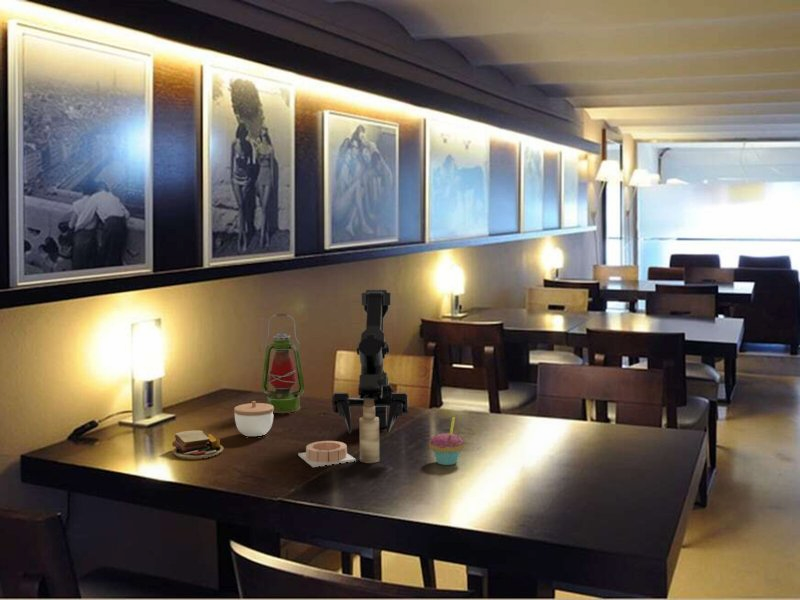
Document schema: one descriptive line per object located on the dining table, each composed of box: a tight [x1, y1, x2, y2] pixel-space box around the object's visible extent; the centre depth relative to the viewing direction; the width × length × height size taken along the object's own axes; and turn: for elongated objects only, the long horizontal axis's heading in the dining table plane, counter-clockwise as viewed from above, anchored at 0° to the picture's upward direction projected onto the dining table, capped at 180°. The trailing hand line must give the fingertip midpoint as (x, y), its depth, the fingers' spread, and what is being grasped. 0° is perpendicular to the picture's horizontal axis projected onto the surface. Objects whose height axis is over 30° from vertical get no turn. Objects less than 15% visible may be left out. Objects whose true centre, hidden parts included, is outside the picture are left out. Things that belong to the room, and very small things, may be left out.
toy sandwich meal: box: [171, 430, 224, 460], centre depth 213 cm, size 12×14×5 cm
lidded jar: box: [233, 400, 274, 436], centre depth 230 cm, size 11×11×9 cm
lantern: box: [261, 313, 305, 412], centre depth 258 cm, size 14×11×30 cm
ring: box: [297, 440, 357, 468], centre depth 207 cm, size 11×11×3 cm
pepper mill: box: [358, 398, 380, 464], centre depth 205 cm, size 5×5×16 cm
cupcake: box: [428, 414, 466, 466], centre depth 203 cm, size 9×8×12 cm
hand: (368, 432), depth 204 cm, fingers open, 9 cm apart
